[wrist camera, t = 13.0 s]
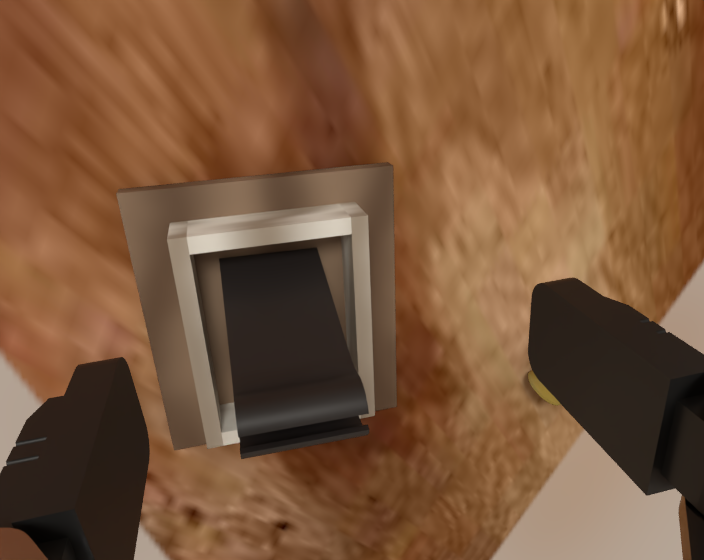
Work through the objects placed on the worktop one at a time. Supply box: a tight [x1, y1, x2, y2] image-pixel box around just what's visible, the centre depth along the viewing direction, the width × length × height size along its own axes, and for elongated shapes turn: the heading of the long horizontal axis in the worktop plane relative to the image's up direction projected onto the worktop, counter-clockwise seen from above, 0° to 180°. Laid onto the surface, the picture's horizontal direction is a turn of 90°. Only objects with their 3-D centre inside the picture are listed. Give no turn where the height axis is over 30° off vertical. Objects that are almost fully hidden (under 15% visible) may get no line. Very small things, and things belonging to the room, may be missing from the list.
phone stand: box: [219, 248, 369, 459], centre depth 30 cm, size 9×6×12 cm, turn 1°
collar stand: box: [116, 162, 397, 450], centre depth 35 cm, size 16×18×4 cm
